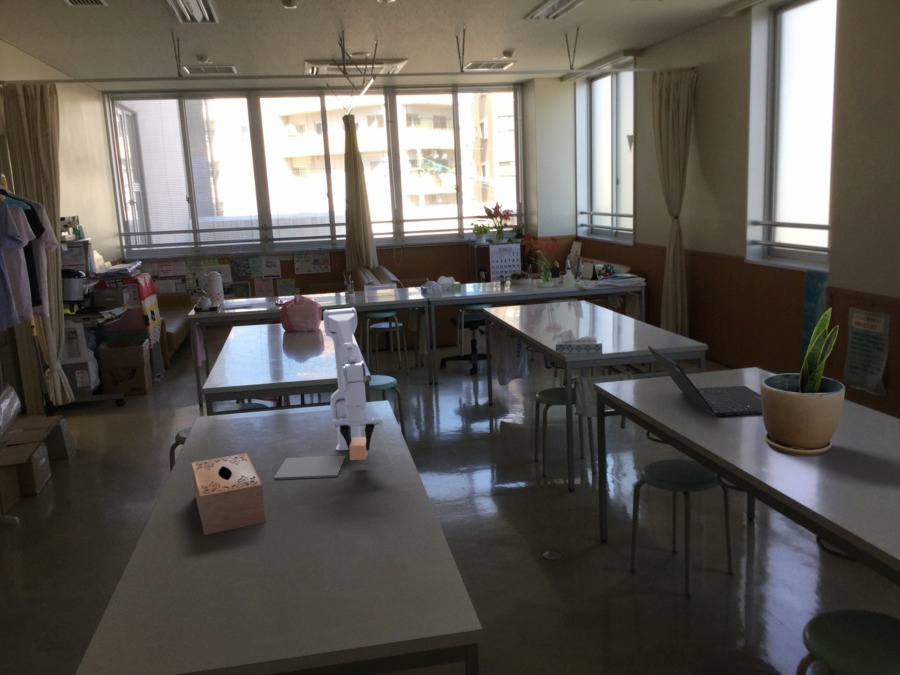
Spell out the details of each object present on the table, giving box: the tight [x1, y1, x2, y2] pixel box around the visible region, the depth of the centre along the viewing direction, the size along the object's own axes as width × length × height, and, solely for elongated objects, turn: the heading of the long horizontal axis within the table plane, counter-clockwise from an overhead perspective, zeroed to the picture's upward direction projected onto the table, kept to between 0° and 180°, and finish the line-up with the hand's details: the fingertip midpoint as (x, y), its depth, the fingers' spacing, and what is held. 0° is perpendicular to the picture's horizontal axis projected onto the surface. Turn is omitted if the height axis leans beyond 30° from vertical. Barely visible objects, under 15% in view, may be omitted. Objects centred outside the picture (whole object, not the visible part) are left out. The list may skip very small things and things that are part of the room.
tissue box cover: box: [191, 452, 267, 536], centre depth 187 cm, size 26×14×10 cm, turn 23°
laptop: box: [647, 345, 763, 417], centre depth 257 cm, size 33×38×19 cm
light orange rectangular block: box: [348, 436, 369, 461], centre depth 210 cm, size 8×4×4 cm, turn 0°
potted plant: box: [760, 307, 846, 457], centre depth 208 cm, size 21×22×40 cm
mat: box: [273, 455, 347, 480], centre depth 214 cm, size 16×18×1 cm
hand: (359, 449), depth 210 cm, fingers closed on light orange rectangular block, 4 cm apart
